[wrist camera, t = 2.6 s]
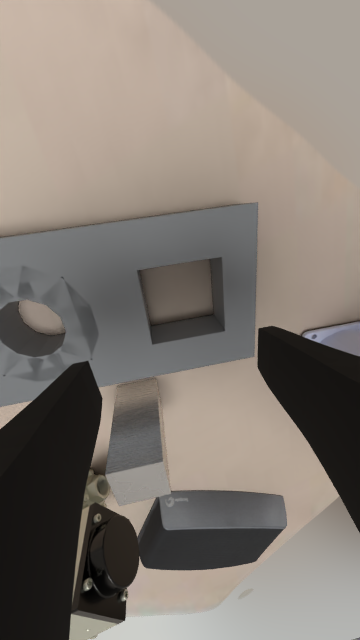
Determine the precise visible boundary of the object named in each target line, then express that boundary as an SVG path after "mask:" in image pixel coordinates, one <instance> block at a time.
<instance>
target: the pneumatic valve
mask: <svg viewBox="0 0 360 640" xmlns="http://www.w3.org/2000/svg"><path fill="white" fill-rule="evenodd" d="M109 492H110V485H109V483H108V480H107V478H106V477H105V476H104V475H101V474H99V475H95V474H94V471H93V470H89V474H88V479H87V483H86V489H85V494H84V501H83V508H82V516H81V523H80V531H79V540H78V549H77V558H76V566H75V577H74V588H73V599H72V609H71V621H70V635H69V640H87V639H89V638H90V639H94V638H96V637H97V635H98V634H99V633H101V632H103V631H105V630H107V629H109V628H111V627H113V626H115V625H117V624H119V623H121V622H123V621H125V616H126V600H127V598H128V591H127V587H128V586H129V585H130V584H131V583H132V582H133V580H134V578H135V576H136V574H137V570H138V565H139V544H138V539H137V535H136V532H135V530H134V527H133V526H132V524H131V522H130V521H129V519H127V518H126V517H124V516H122V515H119V514H117V513H115V512H113V511H111V510H109V509H108V508H106V504H104V501H105V499H106V497H107V496H108V494H109Z"/></svg>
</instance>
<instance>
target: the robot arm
mask: <svg viewBox="0 0 360 640" xmlns="http://www.w3.org/2000/svg"><path fill="white" fill-rule="evenodd" d="M313 335H314V336H313ZM312 336H313V337H312ZM258 369H259V371H260V373H261V375H262V376H263V378H264V380H265V382H266V384H267V385H268V387H269V388H270V390H271V391H272V393H273V394H274V395H275V397H276V398H277V400H278V401H279V402H280V404H281V405H282V406H283V408H284V409H285V411H286V412H287V413H288V415H289V416H290V417H291V419H292V420H293V421H294V423H295V424H296V425H297V427H298V428H299V430H300V431H301V432H302V434H303V435H304V437H305V438H306V440H307V441H308V443H309V444H310V446H311V447H312V449H313V451H314V452H315V454H316V456H317V457H318V459H319V461H320V462H321V464H322V466H323V467H324V469H325V471H326V473H327V474H328V476H329V478H330V480H331V481H332V483H333V485H334V487H335V488H336V490H337V492H338V494H339V495H340V497H341V499H342V501H343V503H344V505H345V506H346V508H347V510H348V512H349V514H350V516H351V518H352V519H353V521H354V523H355V525H356V527H357V529H358V531H359V532H360V321H359V322H353V323H348V324H343V325H338V326H333V327H327V328H322V329H317V330H312V331H307V332H305V333H304V334H303V335H302V336H300V335H297V334H295V333H292V332H289V331H287V330H284V329H281V328H278V327H274V326H269V327H263V328H258ZM101 410H102V396H101V393H100V391H99V388H98V385H97V383H96V380H95V377H94V375H93V372H92V369H91V367H90V364H89V361H84V362H79V363H74V364H72V365H71V366H70V367H68V368H67V369H66V370H65V371H64V372H63V373H62V374H61V375H60V376H59V377H58V378H57V379H55V380H54V381H53V382H52V383H51V384H50V385H49V386H48V387H47V388H46V389H45V390H44V391H43V392H42V393H41V394H40V395H39V396H38V397H37V398H35V399H34V400H33V401H32V402H31V403H30V404H29V405H28V406H27V407H25V408H24V409H23V410H22V411H21V412H20V413H19V414H17V415H16V416H15V417H14V418H13V419H12V420H11V421H10V422H8V423H7V424H6V425H5V426H4V427H2V428H1V429H0V640H69V635H70V621H71V609H72V599H73V588H74V577H75V566H76V558H77V549H78V540H79V531H80V523H81V516H82V508H83V501H84V494H85V489H86V483H87V479H88V474H89V470H90V466H91V461H92V457H93V452H94V448H95V444H96V439H97V435H98V430H99V426H100V420H101ZM353 640H360V638H357V639H353Z"/></svg>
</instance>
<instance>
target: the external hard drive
mask: <svg viewBox="0 0 360 640" xmlns="http://www.w3.org/2000/svg"><path fill="white" fill-rule="evenodd" d="M286 526H287V517H286V509H285V504H284V499H283V496H279V495H272V494H263V493H251V492H236V491H235V492H234V491H171V494H168V495H164V496H159V497H157V498H156V500H155V502H154V504H153V506H152V508H151V510H150V513H149V515H148V517H147V519H146V521H145V523H144V525H143V527H142V529H141V532H140V534H139V536H138V538H137V539H138V544H139V556H140V559H141V562H142V564H143V566H144V567H145V568H150V569H160V570H207V569H217V568H224V567H232V566H238V565H243V564H248V563H252V562H255V561H257V559H258V558H259V557H260V555H261V554H262V553H263V552H264V551H265V550H266V548H267V547H268V546H269V545H270V544H271V543H272V542H273V540H274V539H275V538H276V537H277V536H278V535H279V534H280V533H281V532H282V531H283V529H285V528H286Z"/></svg>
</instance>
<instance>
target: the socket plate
mask: <svg viewBox="0 0 360 640" xmlns="http://www.w3.org/2000/svg"><path fill="white" fill-rule="evenodd" d="M257 227H258V203H246V204H236V205H228V206H221V207H214V208H207V209H200V210H192V211H185V212H178V213H171V214H164V215H157V216H149V217H142V218H135V219H128V220H121V221H114V222H106V223H99V224H92V225H85V226H78V227H70V228H63V229H56V230H49V231H42V232H35V233H27V234H20V235H13V236H6V237H0V407H2V406H7V405H12V404H17V403H22V402H27V401H32V400H34V399H35V398H37V397H38V396H39V395H40V394H41V393H42V392H43V391H44V390H45V389H46V388H47V387H48V386H49V385H50V384H51V383H52V382H53V381H54V380H55V379H57V378H58V377H59V376H60V375H61V374H62V373H63V372H64V371H65V370H66V369H67V368H68V367H70V366H71V365H72V364H74V363H79V362H84V361H89V364H90V367H91V369H92V372H93V375H94V377H95V380H96V383H97V385H98V387H103V386H108V385H113V384H118V383H123V382H128V381H133V380H138V379H144V378H149V377H154V376H159V375H164V374H169V373H174V372H179V371H184V370H189V369H194V368H199V367H204V366H209V365H214V364H219V363H224V362H229V361H235V360H240V359H245V358H250V357H254V349H255V309H256V268H257ZM206 259H210V265H211V281H212V297H213V312H214V315H210V316H204V317H199V318H193V319H188V320H182V321H176V322H171V323H165V324H160V325H154V326H151V325H150V320H149V315H148V310H147V305H146V300H145V295H144V290H143V286H142V281H141V276H140V271H139V270H142V269H149V268H155V267H161V266H168V265H174V264H180V263H187V262H193V261H199V260H206ZM21 300H30V301H33V302H37V303H40V304H44V305H47V306H48V307H49V308H50V309H51V310H52V311H54V312H55V313H56V314H57V315H58V316H60V317H61V320H62V322H63V325H64V328H65V330H66V333H65V334H59V335H53V336H49V335H45V334H41V333H37V332H35V331H34V330H32V329H31V328H30V327H28V326H27V325H26V324H25V323H24V322H23V320H22V318H21V316H20V314H19V312H18V304H19V301H21Z"/></svg>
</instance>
